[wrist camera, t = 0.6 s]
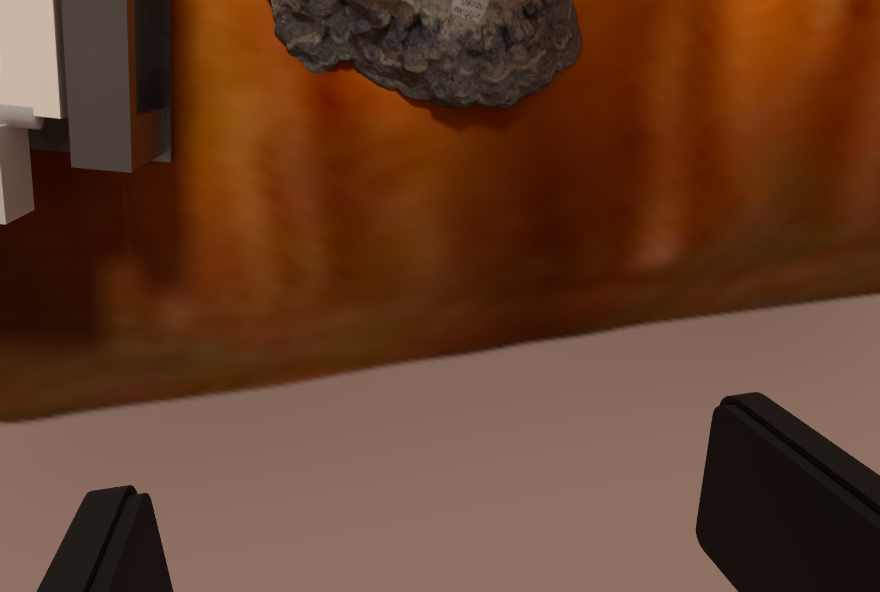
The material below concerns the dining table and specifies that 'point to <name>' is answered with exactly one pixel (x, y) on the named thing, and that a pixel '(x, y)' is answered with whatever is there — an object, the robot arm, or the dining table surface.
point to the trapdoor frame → (114, 85)
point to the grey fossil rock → (437, 44)
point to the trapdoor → (27, 92)
